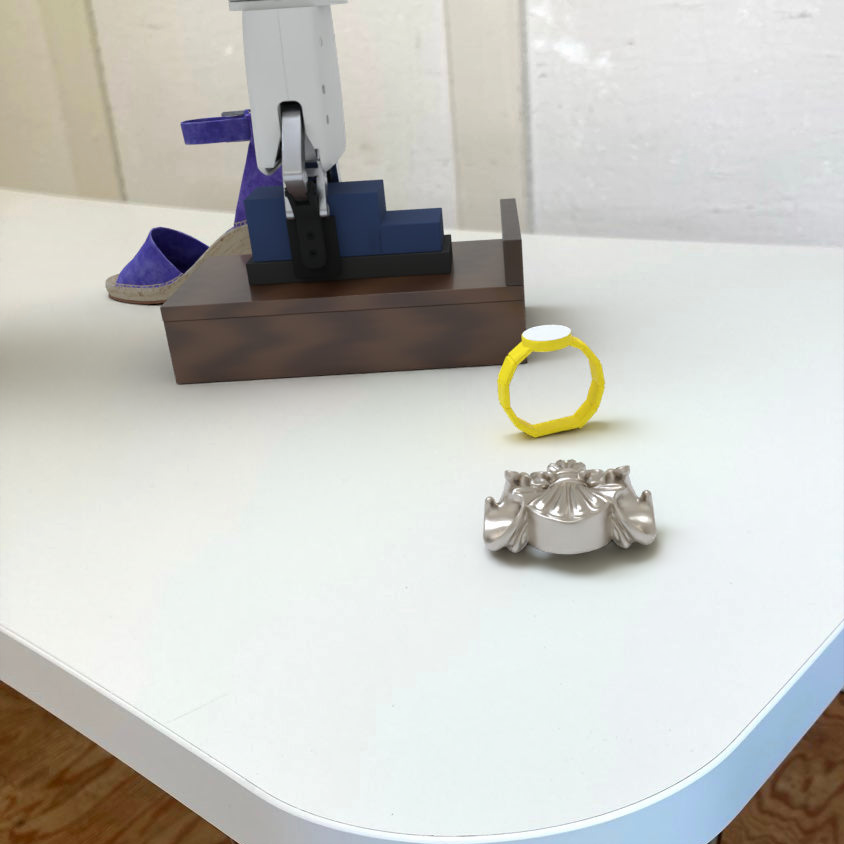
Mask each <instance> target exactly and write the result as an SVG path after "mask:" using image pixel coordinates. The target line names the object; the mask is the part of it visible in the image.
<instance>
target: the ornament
mask: <svg viewBox="0 0 844 844" xmlns="http://www.w3.org/2000/svg"><path fill="white" fill-rule="evenodd" d="M630 474H631V466H630V465H628V464H627V465H622V466H618V467H615V468H608V469H606V470H603V469H601V468H600V469H598V468H595V469H594V468H592V469H591V468H590V469H587V465H586V464H585V463H584V462H582V461H579V462H577V460H575V459H572V458H571V459H567V461H565V459H559V460H557V461H555V463H554V462H553V463H552V462H551V463H549V464H548V465H547V467H546V471H543V470H542V471H532V472H531V473H527V472H526V471H525V472H524V471H521V472H518V471H515V470H504V479H505V482H504V485H503V491H502V493H501V495H500V498H499V501H498V502H497V501H496V499H495V498H494V497H493V496H487V497H486V498H485V499H484V507H483V529H482V539H483V544H484V546H485V547H486V548H487V549H488V550H490V551H491V552H498V551H499V550H501V549H503V548H507V549H508V551H509V552H511V553H513V554H516V553H519V552H521V551H522V550H523V549H524V548H526V546H527V544H528V545H529V546H531V547H533V548H534V549H536V550H539V551H541V552H545V553H548V554H549V553H550V554H557V555H577V554H585V553H589V552H592V551H597V550H599V549H602V548H604V547H605V546H607V545H608V544H609V543H611V542H612V540H613V542H614V544H616V545H617V546H618V547H620V548H622V549H624V550H625V549H629V548H630V547H631V546H632V545H633V543H639V544H640V545H643V546H650V545H651V544H652V543H653V542H654V541H655V539H656V537H657V531H658V530H657V522H656V518H655V510H654V501H653V495H652V492H651V491H650V490H648V489H647V490H646V489H645V490H643V491H642V492H641V494H640V496H638V495H637V493H636V491H635V489H634V487H633V485H632V482H631V478H630Z"/></svg>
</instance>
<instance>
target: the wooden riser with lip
mask: <svg viewBox="0 0 844 844" xmlns="http://www.w3.org/2000/svg"><path fill="white" fill-rule="evenodd" d="M499 206H500V224H501V226H500V227H501V238H491V239H476V240H461V241H452V252H453V255H452V265H451V273H446V274H430V275H413V276H396V277H380V278H363V279H346V280H329V281H313V282H296V283H279V284H262V285H249V281H248V275H247V269H246V263H247V262H248V261H249V259H250V258H251V257H252V254H244V255H227V256H211V257H208V258H207V259H206V260H205V261H204V262H203V263H202V264H201V265H200V266H199V267H198V268H197V269H196V270H195V271H194V272H193V274H192V275H191V276H190V277H189V278H188V279H187V280H186V281H185V282H184V283H183V284H182V285H181V286H180V287H179V288H178V289H177V290H176V291H175V292H174V293H173V294H172V295H171V296H170V297H169V299H168V300H167V301H166V302H165V303H162V305H161V306H160V307H159V310H160V315H161V321H162V322H163V326H164V331H165V336H166V341H167V346H168V351H169V355H170V360H171V364H172V369H173V374H174V379H175V383H176V384H177V385H184V384H197V383H198V384H199V383H216V382H218V383H219V382H231V381H248V380H265V379H266V380H267V379H283V378H298V377H315V376H331V375H332V376H333V375H347V374H348V375H350V374H364V373H366V374H367V373H380V372H381V373H382V372H397V371H399V372H400V371H413V370H415V371H417V370H430V369H446V368H449V369H450V368H463V367H481V366H497V365H498V366H499V365H503V363H504V360H505V358H506V356H508V353H509V352H510V351H512V350H513V349H514V348H515V347H516V346H517V345H518V344H519V343H520V342H522V337H521V336H522V334H523V332H524V331H526V330H527V317H526V316H527V315H526V295H525V276H524V256H523V255H524V253H523V238H522V233H521V226H520V225H521V224H520V220H519V212H518V205H517V199H516V198H515V197H512V198H500V199H499ZM528 356H529V355H528ZM528 356H527V357H526V358H525V359H524V360H523V361H522V362H521V363H520V364H527V363H528V362H529V358H528Z"/></svg>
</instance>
